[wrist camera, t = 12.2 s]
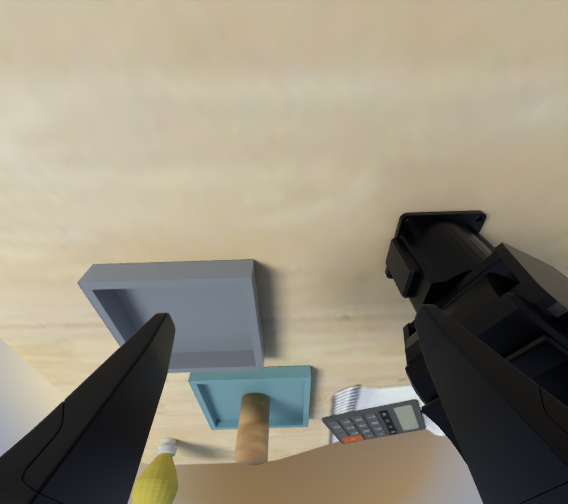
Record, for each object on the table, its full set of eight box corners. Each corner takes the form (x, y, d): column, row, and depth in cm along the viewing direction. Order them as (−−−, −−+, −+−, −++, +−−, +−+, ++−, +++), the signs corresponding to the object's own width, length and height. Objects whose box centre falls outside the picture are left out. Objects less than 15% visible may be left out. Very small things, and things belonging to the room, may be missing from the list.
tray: (310, 365, 34) (311, 377, 33) (307, 416, 43) (307, 426, 42) (191, 369, 34) (188, 381, 33) (213, 419, 43) (211, 429, 42)
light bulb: (154, 430, 46) (128, 511, 38) (193, 437, 48) (176, 515, 40) (145, 443, 49) (120, 520, 41) (182, 449, 51) (164, 523, 43)
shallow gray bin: (253, 259, 24) (251, 277, 22) (264, 351, 32) (263, 369, 30) (92, 264, 24) (77, 282, 22) (146, 355, 32) (138, 373, 30)
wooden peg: (269, 392, 37) (266, 453, 32) (270, 406, 39) (268, 464, 34) (240, 392, 37) (232, 453, 32) (243, 405, 40) (236, 464, 34)
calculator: (321, 421, 43) (417, 402, 40) (321, 415, 44) (415, 396, 41) (342, 445, 50) (426, 430, 47) (341, 439, 51) (424, 424, 47)
